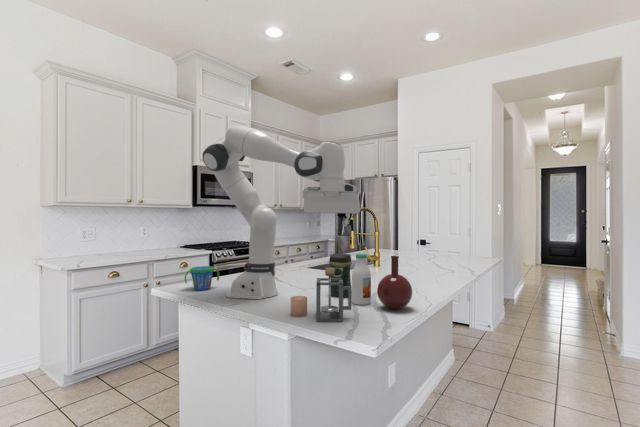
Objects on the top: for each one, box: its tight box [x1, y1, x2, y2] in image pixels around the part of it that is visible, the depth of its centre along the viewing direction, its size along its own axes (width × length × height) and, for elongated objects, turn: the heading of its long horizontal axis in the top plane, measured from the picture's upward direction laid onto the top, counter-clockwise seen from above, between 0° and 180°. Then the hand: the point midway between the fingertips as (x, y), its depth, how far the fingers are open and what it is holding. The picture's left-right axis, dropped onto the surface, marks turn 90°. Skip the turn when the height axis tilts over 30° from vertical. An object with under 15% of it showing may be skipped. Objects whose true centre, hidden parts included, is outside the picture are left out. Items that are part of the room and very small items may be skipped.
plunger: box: [320, 267, 339, 313], centre depth 125 cm, size 6×6×15 cm
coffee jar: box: [328, 252, 352, 298], centre depth 159 cm, size 10×8×19 cm
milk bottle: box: [351, 252, 372, 306], centre depth 146 cm, size 8×8×20 cm
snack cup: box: [184, 265, 220, 291], centre depth 170 cm, size 16×10×10 cm
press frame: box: [315, 277, 352, 323], centre depth 125 cm, size 12×9×13 cm
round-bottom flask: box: [376, 255, 413, 310], centre depth 138 cm, size 13×13×20 cm
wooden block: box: [290, 295, 308, 318], centre depth 130 cm, size 6×6×6 cm
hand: (331, 226), depth 129 cm, fingers open, 8 cm apart
